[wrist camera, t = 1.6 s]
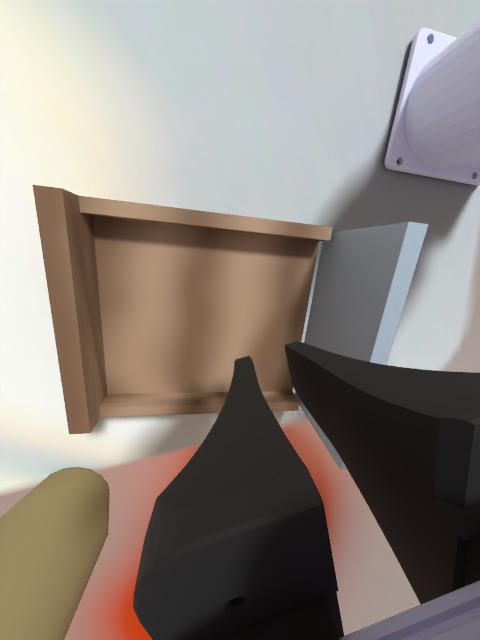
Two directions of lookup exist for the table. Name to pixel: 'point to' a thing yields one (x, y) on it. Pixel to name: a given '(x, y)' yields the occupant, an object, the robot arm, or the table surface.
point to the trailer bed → (169, 303)
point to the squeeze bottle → (50, 553)
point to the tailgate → (362, 294)
